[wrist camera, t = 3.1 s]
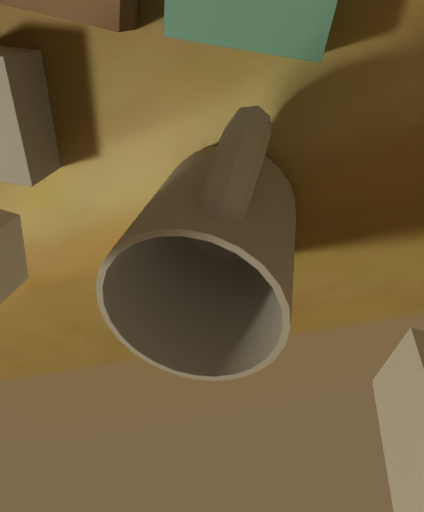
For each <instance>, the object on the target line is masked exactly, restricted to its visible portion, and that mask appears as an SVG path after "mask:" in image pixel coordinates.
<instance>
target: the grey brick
mask: <svg viewBox="0 0 424 512" xmlns="http://www.w3.org/2000/svg"><path fill="white" fill-rule="evenodd" d="M59 168H61V163H60V158H59V152H58V146H57V140H56V134H55V129H54V123H53V117H52V111H51V105H50V100H49V94H48V88H47V82H46V76H45V71H44V65H43V59H42V53H41V50H37V49H28V48H19V47H10V46H1V45H0V181H1V182H7V183H14V184H20V185H26V186H34V185H35V184H37V183H38V182H40V181H41V180H43V179H44V178H46V177H47V176H49V175H50V174H52V173H53V172H55V171H56V170H58V169H59Z"/></svg>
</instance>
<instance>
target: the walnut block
mask: <svg viewBox="0 0 424 512" xmlns="http://www.w3.org/2000/svg"><path fill="white" fill-rule="evenodd" d="M0 4H5V5H9V6H13V7H17V8H21V9H25V10H29V11H34V12H38V13H42V14H46V15H50V16H54V17H58V18H63V19H67V20H71V21H75V22H79V23H83V24H87V25H91V26H96V27H100V28H104V29H108V30H112V31H116V32H123V31H129V30H135V29H137V26H138V8H139V0H0Z"/></svg>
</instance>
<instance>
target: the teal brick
mask: <svg viewBox="0 0 424 512" xmlns="http://www.w3.org/2000/svg"><path fill="white" fill-rule="evenodd" d="M337 1H338V0H165V5H164V30H163V36H164V37H170V38H176V39H182V40H188V41H194V42H200V43H206V44H212V45H218V46H224V47H230V48H236V49H242V50H247V51H253V52H259V53H265V54H271V55H277V56H283V57H289V58H295V59H301V60H307V61H313V62H319V63H321V62H322V58H323V54H324V50H325V47H326V43H327V39H328V35H329V31H330V28H331V24H332V20H333V16H334V13H335V9H336V5H337Z"/></svg>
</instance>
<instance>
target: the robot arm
mask: <svg viewBox="0 0 424 512" xmlns="http://www.w3.org/2000/svg"><path fill="white" fill-rule="evenodd" d="M27 278H28V271H27V263H26V256H25V249H24V241H23V234H22V227H21V220H20V215H18V214H15V213H12V212H8V211H5V210H1V209H0V304H1V303H2V302H3V301H4V300H5V299H6V298H7V297H9V296H10V295H11V294H12V293H13V292H14V291H15V290H16V289H17V288H18V287H19V286H20V285H21V284H22V283H23V282H24V281H25V280H26V279H27ZM372 382H373V388H374V394H375V400H376V407H377V413H378V419H379V425H380V431H381V437H382V443H383V449H384V456H385V462H386V468H387V474H388V480H389V486H390V492H391V498H392V504H393V511H394V512H424V331H421V330H418V329H414V328H410V329H409V331H408V332H407V333H406V335H405V336H404V338H403V339H402V340H401V342H400V343H399V345H398V346H397V347H396V349H395V350H394V352H393V353H392V354H391V356H390V357H389V359H388V360H387V362H386V363H385V364H384V365H383V367H382V368H381V370H380V371H379V372H378V374H377V375H376V377H375V378H374V379H373V381H372Z"/></svg>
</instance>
